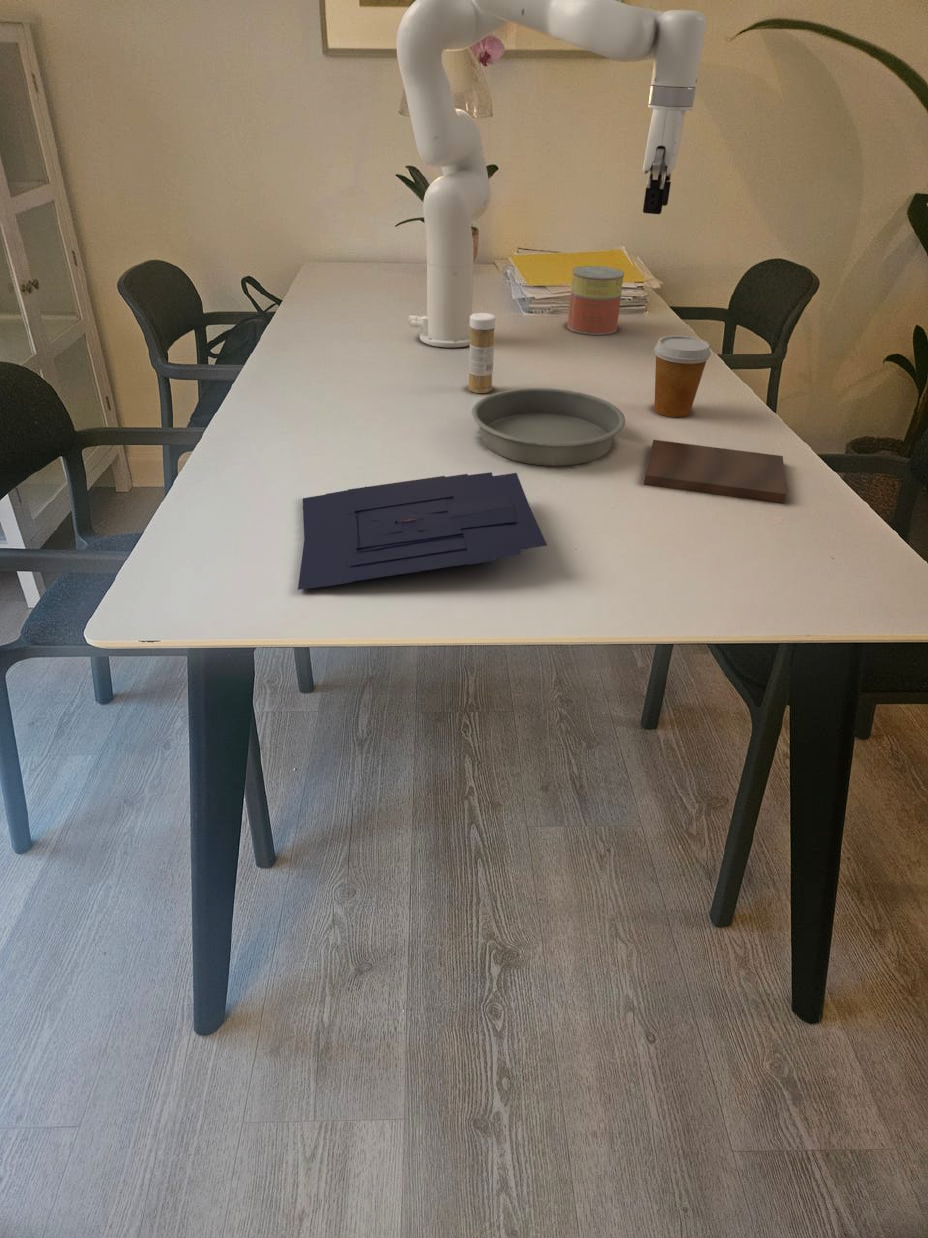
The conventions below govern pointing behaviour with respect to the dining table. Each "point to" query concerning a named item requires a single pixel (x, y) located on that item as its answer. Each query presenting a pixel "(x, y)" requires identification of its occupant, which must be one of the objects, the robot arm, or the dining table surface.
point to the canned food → (595, 300)
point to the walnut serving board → (716, 471)
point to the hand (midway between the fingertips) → (655, 208)
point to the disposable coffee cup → (678, 373)
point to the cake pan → (547, 425)
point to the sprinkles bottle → (481, 352)
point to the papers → (414, 527)
